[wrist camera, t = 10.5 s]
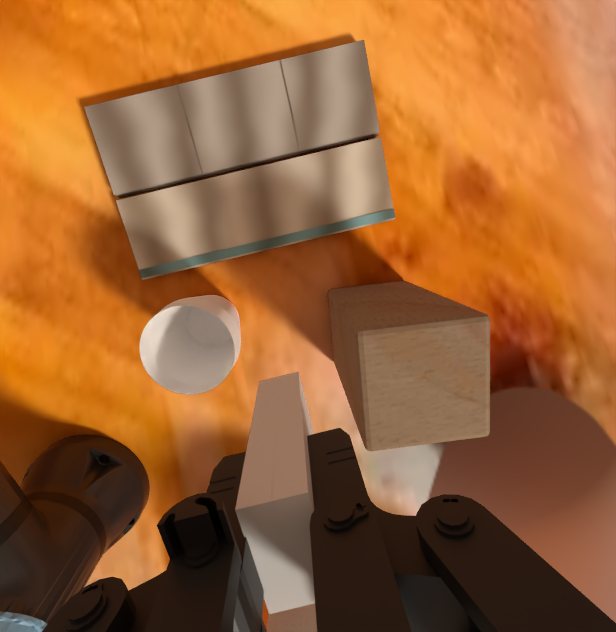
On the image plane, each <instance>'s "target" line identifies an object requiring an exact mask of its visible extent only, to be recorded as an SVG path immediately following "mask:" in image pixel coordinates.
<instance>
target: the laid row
mask: <svg viewBox="0 0 616 632" xmlns="http://www.w3.org/2000/svg"><path fill="white" fill-rule="evenodd" d="M84 108H85V111H86V114H87V117H88V120H89V123H90V126H91V129H92V132H93V135H94V138H95V141H96V144H97V147H98V150H99V153H100V156H101V158H102V161H103V164H104V167H105V170H106V173H107V176H108V179H109V182H110V185H111V188H112V191H113V194H114V195H116V196H118V197H119V198H122V197H126V196H130V195H135V194H139V193H143V192H147V191H151V190H155V189H160V188H164V187H168V186H172V185H176V184H180V183H185V182H189V181H193V180H197V179H201V178H205V177H210V176H214V175H218V174H222V173H226V172H230V171H235V170H239V169H243V168H247V167H251V166H255V165H260V164H264V163H268V162H272V161H276V160H280V159H285V158H289V157H293V156H297V155H301V154H305V153H310V152H314V151H318V150H322V149H326V148H330V147H335V146H339V145H343V144H347V143H351V142H355V141H360V140H364V139H368V138H372V137H376V136H378V133H379V132H380V129H379V124H378V118H377V112H376V106H375V100H374V95H373V89H372V83H371V77H370V72H369V66H368V60H367V54H366V48H365V43H364V40H361V41H357V42H353V43H348V44H344V45H340V46H336V47H332V48H328V49H323V50H319V51H315V52H311V53H307V54H303V55H298V56H294V57H290V58H286V59H282V60H277V61H273V62H269V63H265V64H261V65H257V66H252V67H248V68H244V69H240V70H236V71H232V72H227V73H223V74H219V75H215V76H211V77H207V78H202V79H198V80H194V81H190V82H186V83H182V84H176V85H173V86H169V87H165V88H161V89H156V90H152V91H148V92H144V93H140V94H136V95H131V96H127V97H123V98H119V99H115V100H111V101H106V102H102V103H98V104H94V105H90V106H86V107H84Z"/></svg>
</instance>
